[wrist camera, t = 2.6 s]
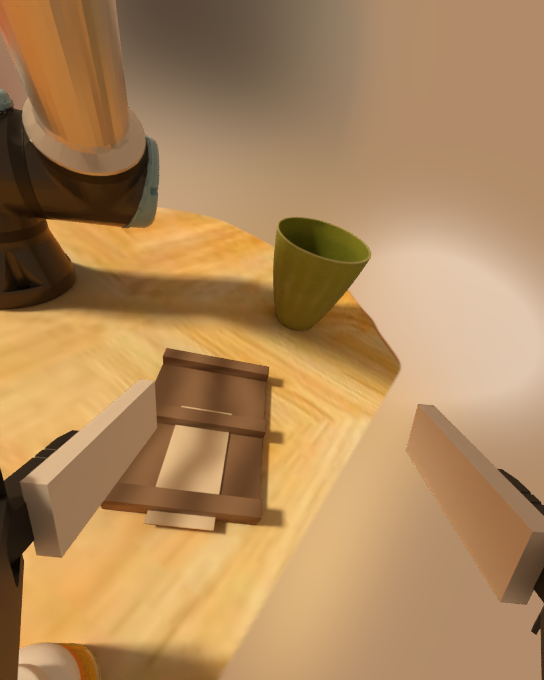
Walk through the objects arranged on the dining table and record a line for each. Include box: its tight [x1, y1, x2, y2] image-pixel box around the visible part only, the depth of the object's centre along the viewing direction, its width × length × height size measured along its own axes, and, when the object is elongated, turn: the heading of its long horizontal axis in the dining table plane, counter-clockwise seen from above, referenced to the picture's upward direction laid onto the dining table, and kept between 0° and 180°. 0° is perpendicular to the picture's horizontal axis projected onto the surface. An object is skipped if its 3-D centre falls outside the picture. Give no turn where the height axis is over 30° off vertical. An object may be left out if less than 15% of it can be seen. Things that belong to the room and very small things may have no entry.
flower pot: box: [273, 217, 371, 330], centre depth 48 cm, size 15×15×16 cm
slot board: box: [101, 348, 269, 531], centre depth 32 cm, size 14×20×2 cm
